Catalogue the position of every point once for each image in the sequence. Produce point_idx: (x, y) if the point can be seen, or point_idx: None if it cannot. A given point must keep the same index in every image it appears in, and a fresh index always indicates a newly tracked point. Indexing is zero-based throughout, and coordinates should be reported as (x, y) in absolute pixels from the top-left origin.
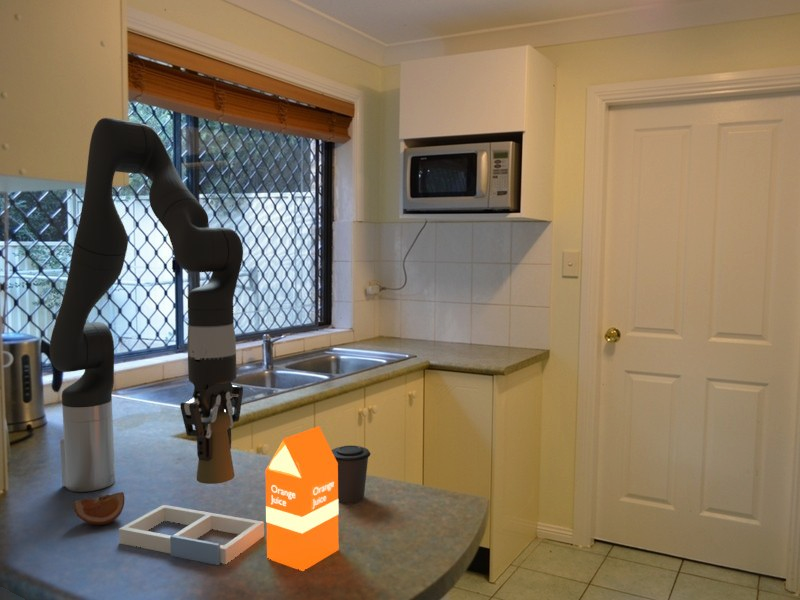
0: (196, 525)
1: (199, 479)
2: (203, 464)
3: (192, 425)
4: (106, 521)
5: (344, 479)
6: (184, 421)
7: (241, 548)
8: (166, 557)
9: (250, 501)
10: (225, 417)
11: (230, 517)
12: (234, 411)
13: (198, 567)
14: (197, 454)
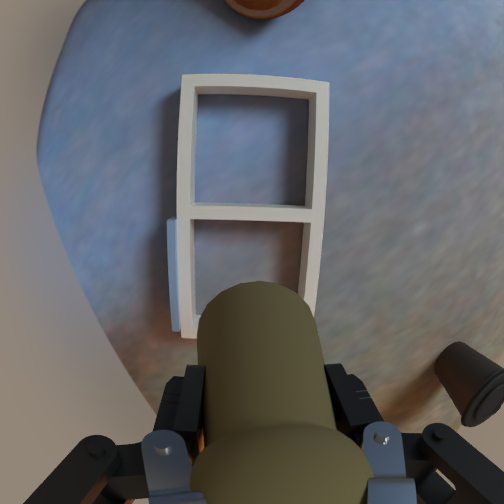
0: (257, 220)
1: (201, 319)
2: (199, 363)
3: (101, 489)
4: (240, 13)
5: (451, 388)
6: (36, 494)
7: None
8: (167, 210)
9: (433, 218)
10: None
11: (313, 268)
12: (420, 500)
13: (159, 287)
14: (166, 384)
